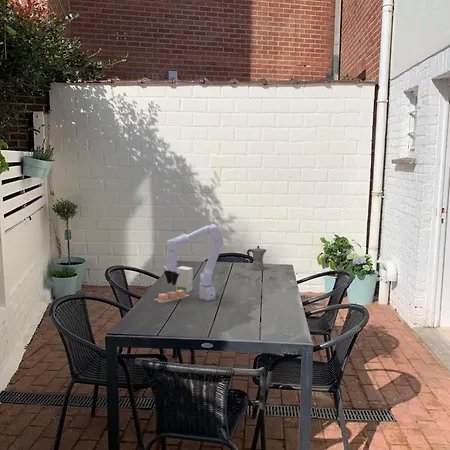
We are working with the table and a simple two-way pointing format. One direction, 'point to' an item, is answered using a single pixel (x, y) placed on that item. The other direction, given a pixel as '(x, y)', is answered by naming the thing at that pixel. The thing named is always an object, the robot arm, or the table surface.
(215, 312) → the table surface
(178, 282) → the skincare box
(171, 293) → the tile two
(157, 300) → the board
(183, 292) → the tile one
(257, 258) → the coffeepot
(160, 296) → the tile three
